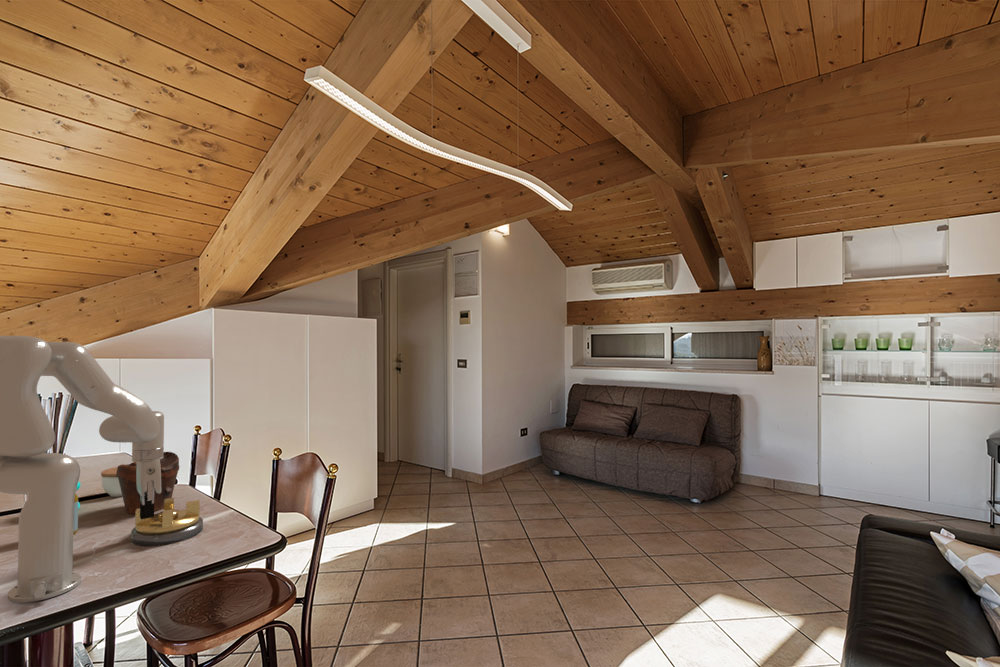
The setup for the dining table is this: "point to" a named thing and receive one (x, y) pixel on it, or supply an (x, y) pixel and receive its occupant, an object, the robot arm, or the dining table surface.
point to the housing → (166, 536)
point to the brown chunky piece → (168, 478)
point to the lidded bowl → (111, 482)
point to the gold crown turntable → (168, 519)
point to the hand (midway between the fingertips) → (146, 517)
